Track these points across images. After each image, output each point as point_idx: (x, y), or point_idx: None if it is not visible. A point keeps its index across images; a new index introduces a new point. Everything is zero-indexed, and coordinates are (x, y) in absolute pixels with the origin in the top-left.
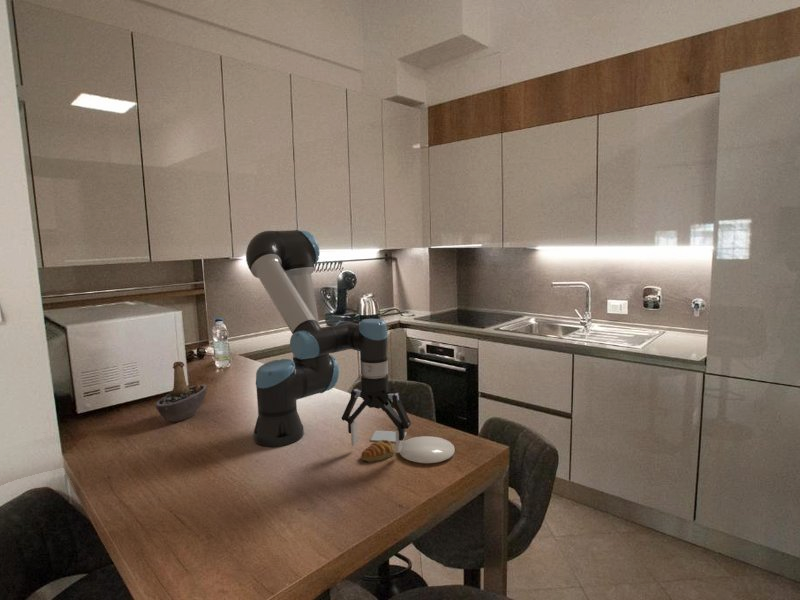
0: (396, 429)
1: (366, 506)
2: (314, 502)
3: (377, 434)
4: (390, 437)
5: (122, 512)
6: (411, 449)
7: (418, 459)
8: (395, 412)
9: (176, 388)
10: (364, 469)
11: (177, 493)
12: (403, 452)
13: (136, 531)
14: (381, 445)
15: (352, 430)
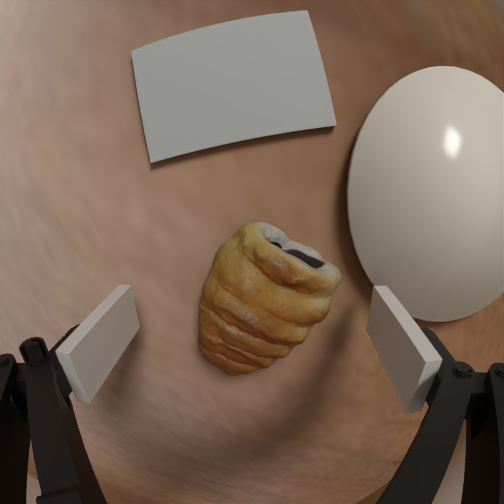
0: (411, 404)
1: (327, 483)
2: (218, 491)
3: (158, 87)
4: (244, 91)
5: (35, 474)
6: (416, 234)
7: (450, 312)
8: (447, 465)
9: None
10: (257, 396)
11: (30, 456)
12: (387, 277)
13: None
14: (284, 327)
15: (102, 377)
